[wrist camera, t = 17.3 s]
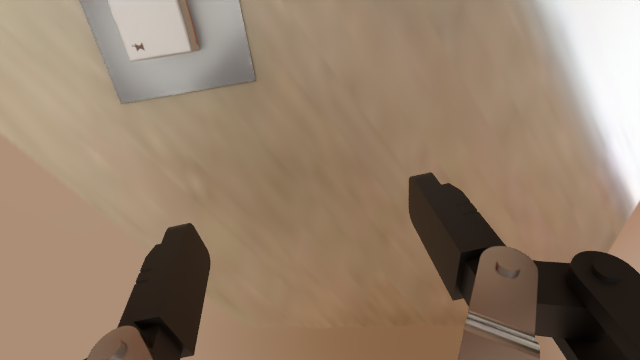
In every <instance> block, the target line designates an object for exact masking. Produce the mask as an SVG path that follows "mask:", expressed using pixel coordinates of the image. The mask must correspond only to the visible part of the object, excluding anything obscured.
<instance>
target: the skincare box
mask: <svg viewBox="0 0 640 360" xmlns="http://www.w3.org/2000/svg"><path fill="white" fill-rule="evenodd" d="M108 3H109V7H110V10H111V13H112V15H113V18H114V20H115V22H116V25H117V28H118V30H119V33H120V36H121V38H122V41H123V44H124V46H125V49H126V52H127V54H128V57H129V59H130V61H131V62H135V61H140V60H147V59H153V58H159V57H165V56H172V55H178V54H183V53H189V52H194V51H198V50H200V48H199V44H198V41H197V38H196V34H195V30H194V27H193V23H192V20H191V16H190V13H189V9H188V5H187V1H186V0H108Z"/></svg>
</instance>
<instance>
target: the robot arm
mask: <svg viewBox="0 0 640 360" xmlns="http://www.w3.org/2000/svg"><path fill="white" fill-rule="evenodd" d="M409 214H410V218H411V221H412V223H413V225H414V227H415V229H416V231H417V233H418V235H419V237H420V239H421V241H422V243H423V245H424V246H425V248H426V250H427V252H428V254H429V256H430V258H431V260H432V262H433V264H434V265H435V267H436V269H437V271H438V273H439V275H440V277H441V279H442V281H443V283H444V285H445V286H446V288H447V290H448V292H449V294H450V296H451V298H452V300H458V299H462V298H464V299H465V301H466V303H467V305H468V306H469V309H468V314H467V318H466V323H465V327H464V332H463V337H462V341H461V346H460V351H459V355H458V360H540V348H539V344H538V343H537V342H535V335H537V336H545V337H552V338H553V339H554V341H555V342H556V344H557V345H558V347H559V348H560V350H561V351H562V353H563V354H564V356H565V357H566V359H567V360H640V274H639V273H638V272H637V271H636V270H635V269H634V268H633V267H631V266H630V265H629V264H628V263H626V262H624V261H623V260H621V259H619V258H617V257H615V256H613V255H610V254H607V253H603V252H598V251H584V252H581V253H578V254H577V255H575V256H574V258H573V259H572V261H571V263H558V262H542V261H535V260H532V259H531V258H530V257H529V256H527V255H526V254H525V253H523V252H521V251H519V250H517V249H514V248H511V247H507V246H506V245H505V244H504V243H503V242H502V241H501V239H500V238H499V237H498V236H497V234H496V233H495V232H494V231H493V229H492V228H491V227H490V226H489V224H488V223H487V222H486V221H485V219H484V218H483V217H482V216H481V214H480V213H479V212H477V209H476V208H475V207H474V206H473V204H472V203H470V201H469V199H468V198H467V197H466V196H465V194H464V193H463V192H462V191H461V190H459V189H458V188H456V187H454V186H453V185H451V184H449V183H447V184H443V185H441V184H440V183H439V181H438V180H437V179H436V177H435V176H434V175H433V174H432V173H426V174H421V175H416V176H412V177H410V178H409ZM209 270H210V256H209V252H208V250H207V248H206V246H205V245H204V243H203V241H202V240H201V238H200V236H199V234H198V233H197V231H196V229H195V227H194V226H193V225H192V224H191V223H188V224H183V225H178V226H174V227H169V228H168V229H167V230H166V232H165V235H164V238H163V240H162V243H161V244H158V245H155V247H154V248H153V249H152V250H151V252H150V253H149V254H148V255H147V256H146V258H145V261H144V263H143V265H142V268H141V270H140V271H141V273H139V275H138V278H137V280H136V284H135V285H134V288H133V290H132V293H131V295H130V298H129V300H128V303H127V305H126V308H125V310H124V313H123V315H122V318H121V320H120V323H119V325H118V327H117V328H116V329H114V330H112V331H111V332H109V333H108V334H106V335H105V336H104V337H102V338H101V339H100V340H99V341H98V342H97V344H96V345H95V346H94V347H93V349H92V350H91V352H90V354H89V356H88V358H86V359H84V360H180V358H183V357H188V356H193V355H194V351H195V345H196V341H197V335H198V330H199V324H200V319H201V314H202V308H203V303H204V297H205V292H206V287H207V281H208V276H209Z"/></svg>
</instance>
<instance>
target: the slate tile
mask: <svg viewBox="0 0 640 360" xmlns="http://www.w3.org/2000/svg"><path fill="white" fill-rule="evenodd" d="M79 1H80V3H81V6H82V8H83V11H84V13H85V16H86V18H87V21H88V23H89V25H90V28H91V30H92V33H93V35H94V38H95V40H96V43H97V45H98V48H99V50H100V53H101V55H102V58H103V60H104V63H105V65H106V68H107V70H108V73H109V75H110V78H111V80H112V83H113V85H114V88H115V90H116V93H117V95H118V98H119V100H120V103H121V104H123V103H129V102H135V101H141V100H147V99H152V98H158V97H164V96H170V95H176V94H182V93H187V92H193V91H199V90H205V89H211V88H217V87H222V86H228V85H234V84H240V83H246V82H252V81H256V80H255V75H254V70H253V65H252V60H251V56H250V51H249V46H248V41H247V37H246V32H245V27H244V22H243V18H242V13H241V8H240V3H239V0H186V1H187V5H188V9H189V13H190V16H191V20H192V23H193V27H194V30H195V34H196V38H197V41H198V44H199V48H200V50H198V51H194V52H189V53H183V54H178V55H172V56H165V57H159V58H153V59H147V60H140V61H135V62H131V61H130V59H129V57H128V54H127V52H126V49H125V46H124V44H123V41H122V38H121V36H120V33H119V30H118V28H117V25H116V22H115V20H114V18H113V15H112V13H111V10H110V7H109V3H108V0H79Z"/></svg>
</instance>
